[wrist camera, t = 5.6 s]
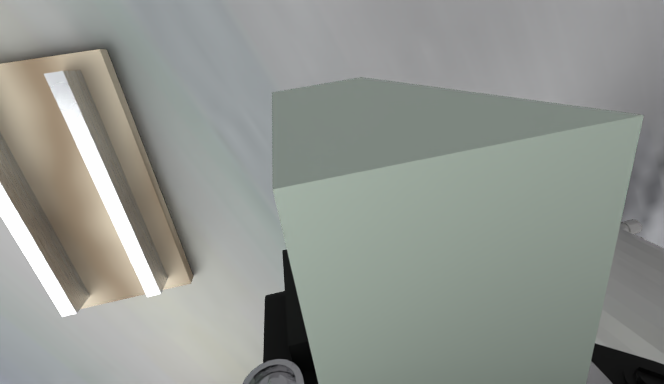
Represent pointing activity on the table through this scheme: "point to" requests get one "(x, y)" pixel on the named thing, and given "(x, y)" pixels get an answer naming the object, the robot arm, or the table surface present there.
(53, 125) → the bottom track
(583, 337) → the door panel
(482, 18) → the table surface
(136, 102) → the table surface
